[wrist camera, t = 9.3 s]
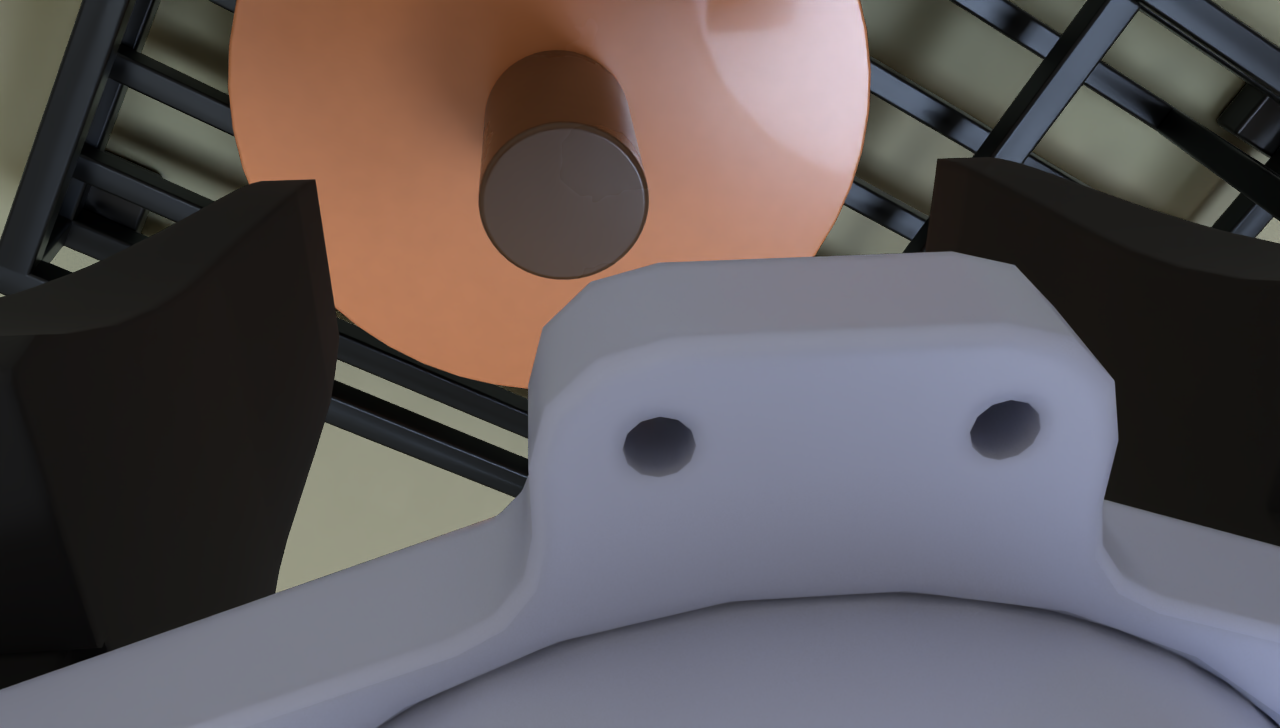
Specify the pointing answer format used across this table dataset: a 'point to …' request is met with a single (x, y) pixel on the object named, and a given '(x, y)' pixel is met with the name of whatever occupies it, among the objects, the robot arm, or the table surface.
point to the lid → (544, 148)
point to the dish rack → (114, 217)
